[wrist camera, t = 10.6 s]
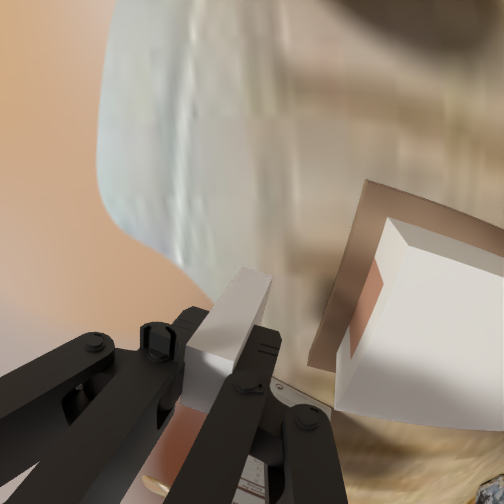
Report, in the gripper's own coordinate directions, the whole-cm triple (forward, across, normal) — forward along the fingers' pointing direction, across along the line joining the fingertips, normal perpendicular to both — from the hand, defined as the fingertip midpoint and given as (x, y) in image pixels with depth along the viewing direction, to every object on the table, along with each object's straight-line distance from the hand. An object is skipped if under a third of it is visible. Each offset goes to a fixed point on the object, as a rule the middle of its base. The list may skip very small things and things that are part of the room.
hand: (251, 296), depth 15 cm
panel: (+3, +14, 0) cm, 14 cm away
